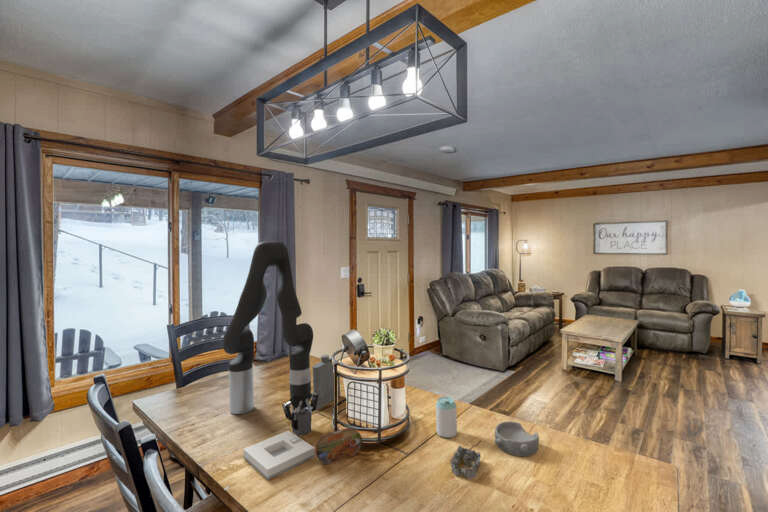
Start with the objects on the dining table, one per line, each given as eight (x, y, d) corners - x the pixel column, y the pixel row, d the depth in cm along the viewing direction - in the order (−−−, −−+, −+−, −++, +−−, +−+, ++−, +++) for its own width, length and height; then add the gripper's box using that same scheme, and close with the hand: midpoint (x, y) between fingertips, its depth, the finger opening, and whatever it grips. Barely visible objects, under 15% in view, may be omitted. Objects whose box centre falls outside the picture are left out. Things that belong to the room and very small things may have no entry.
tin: (317, 467, 113) (316, 440, 113) (314, 462, 116) (313, 435, 116) (362, 453, 120) (362, 427, 120) (358, 449, 123) (358, 423, 123)
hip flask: (318, 410, 152) (316, 361, 151) (310, 408, 154) (308, 360, 153) (341, 396, 166) (340, 351, 165) (334, 394, 168) (333, 350, 167)
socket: (243, 458, 119) (243, 447, 119) (288, 438, 130) (288, 428, 130) (267, 480, 108) (267, 467, 108) (314, 456, 119) (314, 445, 119)
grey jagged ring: (474, 482, 105) (474, 468, 105) (448, 475, 108) (448, 461, 108) (483, 462, 114) (482, 449, 114) (459, 455, 118) (458, 443, 118)
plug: (292, 431, 135) (291, 408, 135) (304, 427, 139) (303, 404, 138) (299, 436, 132) (299, 412, 132) (311, 431, 135) (310, 407, 135)
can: (460, 433, 131) (460, 399, 131) (449, 441, 126) (449, 406, 126) (443, 426, 136) (443, 394, 136) (432, 434, 131) (431, 400, 131)
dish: (506, 431, 133) (506, 417, 132) (546, 445, 123) (546, 430, 122) (485, 447, 122) (485, 432, 122) (526, 464, 113) (526, 448, 112)
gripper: (311, 372, 142) (312, 416, 143) (276, 382, 132) (278, 430, 133) (322, 377, 137) (324, 423, 137) (287, 388, 127) (289, 437, 127)
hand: (301, 426), depth 135 cm, fingers closed on plug, 4 cm apart
